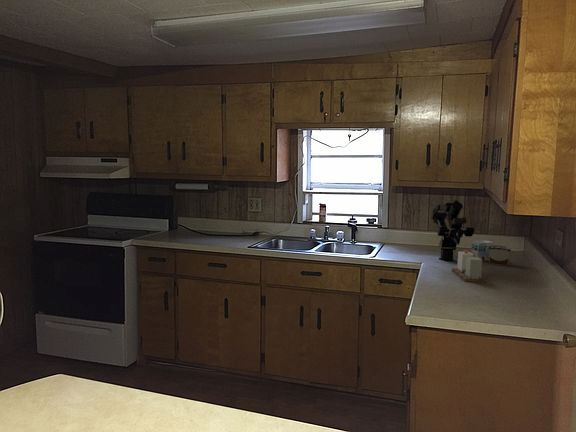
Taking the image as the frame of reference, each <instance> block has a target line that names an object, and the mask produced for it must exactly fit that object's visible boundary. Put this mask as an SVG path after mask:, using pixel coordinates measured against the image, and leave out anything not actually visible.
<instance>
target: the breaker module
mask: <svg viewBox="0 0 576 432" xmlns="http://www.w3.org/2000/svg"><path fill="white" fill-rule="evenodd" d="M457 252H458V253H457V266H456V268H457V269H459V270H460V271H461V272H463V270H466V259H467V257H473V256H474V255H473V254H472V253H471V251H469V250H468V249H467V250H465V249H463V251H457Z"/></svg>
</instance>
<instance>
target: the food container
mask: <svg viewBox="0 0 576 432" xmlns="http://www.w3.org/2000/svg"><path fill="white" fill-rule="evenodd" d="M488 249H489V260H488V264H490V265H496V266H497V265H498V266H505V267H508V265H509V260H510V254H511V252H512V248H511V247H509V246H506V245H497V244H494V245H491V246H489V247H488Z"/></svg>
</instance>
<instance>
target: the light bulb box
mask: <svg viewBox="0 0 576 432" xmlns="http://www.w3.org/2000/svg"><path fill="white" fill-rule="evenodd" d="M491 245H495V243H494V242H493V241H491V240H490V241H489V240H472V241H471V251H470V253H472V254H473V255H474V256H473V257H478V258H480V259H482V262H485V261H486V262H487V261H488V262H489V249H488V247H489V246H491Z"/></svg>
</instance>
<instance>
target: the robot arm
mask: <svg viewBox="0 0 576 432" xmlns="http://www.w3.org/2000/svg"><path fill="white" fill-rule="evenodd" d="M463 206H464V205H463V204H462V203H461V202H459V201H458V200H453V202H449V201H448V202H447V201H445V202H444V203H438V204H437V205H436V207H434V208H433V209H432V211H431V215H430V216H431V217H430V218H431V220H432V222H433V223H434V224H435V225H437V227H438V229H437V237H441V239H440V240H439V244H438V249H439V250H440V257H439V258H438V259H439V260H441V261H445V262H448V261H451V262H452V261H455V258H454V251H457V250H456V249H457V245H460V241H461V238H463V235H464V237H466V238H467V237H469V238H470V237H473V235H474V233H475V228H474V227H473V226H466V227H465V228H463V225H464V224H467V222H468V221H467V217H459V216H460V215H461V212H462V209H463ZM446 220H447V222H448V224H447V223H446Z"/></svg>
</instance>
